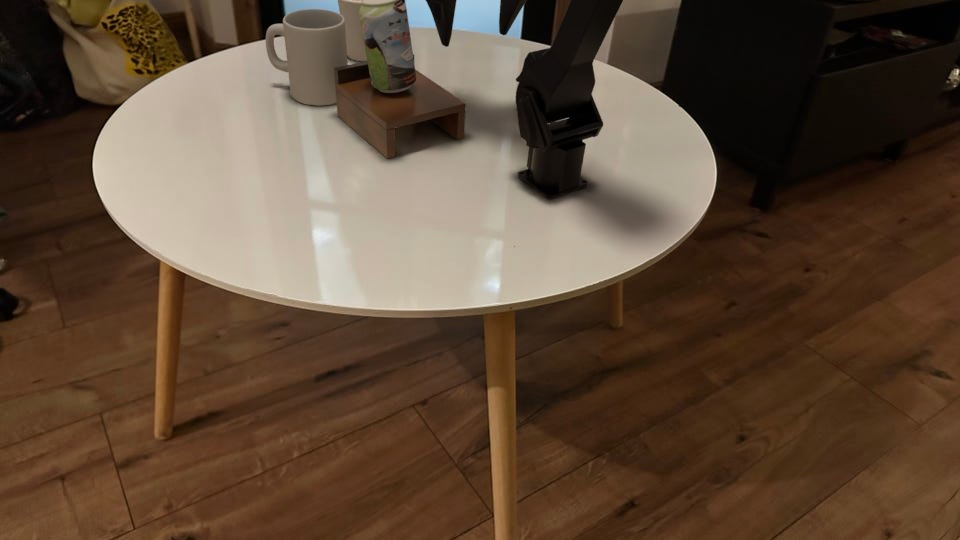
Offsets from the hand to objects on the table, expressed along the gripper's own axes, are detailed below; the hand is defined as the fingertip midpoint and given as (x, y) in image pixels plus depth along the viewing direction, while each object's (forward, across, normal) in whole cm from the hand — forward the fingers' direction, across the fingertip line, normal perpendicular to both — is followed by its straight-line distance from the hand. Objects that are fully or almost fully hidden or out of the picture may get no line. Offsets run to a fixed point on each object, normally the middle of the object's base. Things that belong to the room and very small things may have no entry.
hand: (474, 39), depth 90 cm
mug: (+12, +15, -20) cm, 28 cm away
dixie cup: (+12, +1, -29) cm, 31 cm away
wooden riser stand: (+12, +9, -4) cm, 16 cm away
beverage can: (+7, +10, -6) cm, 13 cm away
